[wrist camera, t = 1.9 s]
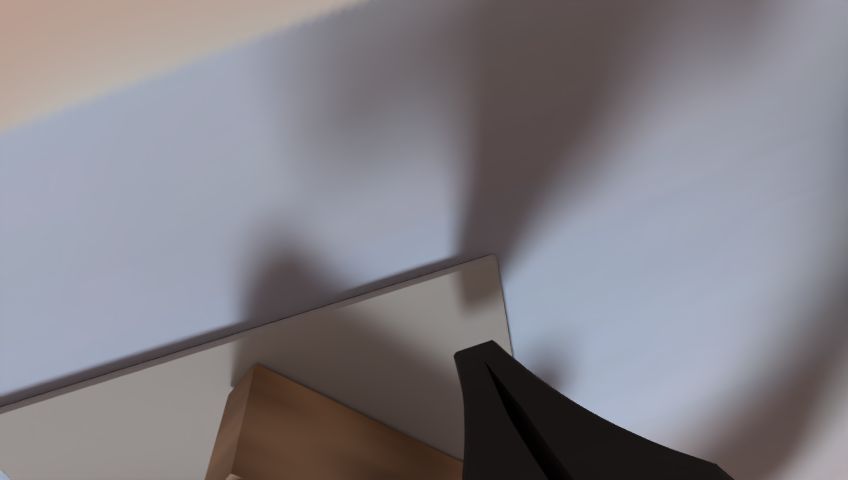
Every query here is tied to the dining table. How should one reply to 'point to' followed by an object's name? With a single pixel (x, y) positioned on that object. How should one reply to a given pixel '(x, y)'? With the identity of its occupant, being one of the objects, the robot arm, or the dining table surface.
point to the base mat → (282, 354)
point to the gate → (312, 439)
